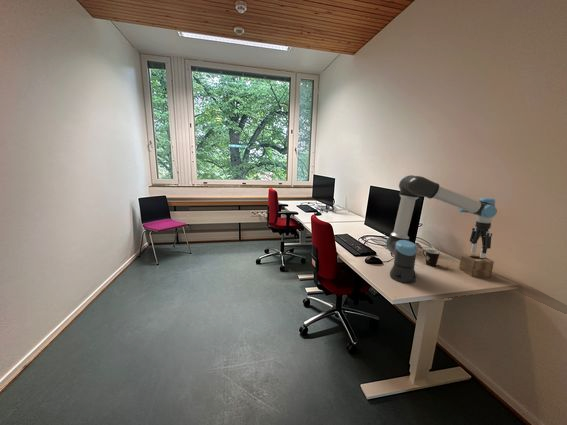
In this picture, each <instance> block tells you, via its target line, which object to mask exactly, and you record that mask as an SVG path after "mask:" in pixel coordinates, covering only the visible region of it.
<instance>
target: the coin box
mask: <svg viewBox="0 0 567 425" xmlns="http://www.w3.org/2000/svg"><path fill="white" fill-rule="evenodd" d="M494 263H495V261H494V260H492V259H490V258H487V257H486V256H485V258H480V253H479V254H477V253H461V254H460V259H459V266H458V269H459V270H461V271H462V272H464V273H465V274H467V275H468V276H470V277H475V278H476V277H477V278H478V277H479V278H491V277H492V272H493V269H494Z"/></svg>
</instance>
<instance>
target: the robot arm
mask: <svg viewBox="0 0 567 425" xmlns="http://www.w3.org/2000/svg"><path fill="white" fill-rule="evenodd" d="M398 183H399V184H398V187H399V197H400V201H399V205H398V210H397V215H396V218H395V224H394V228H393V231H392V232H391V233H390V235H389V237H388V238H387V239H386V241H385V244H386V245H385V246H386V248H387V249H388V251H389V252H390V253H391V254H392V255H393V256H394V259H393V260H394V261H393V265H392V267H391V269H390V272H389V277H390V278H391V279H392V280H394V281H397V282H399V283H404V284H413V283H416V281H417V274H416V270H415V265H416V264H415V263H416V257H417V251H418V250H417V249H418V247H417V244H415V243H414V242H412V241H410V236H408V233H409V228H410V225H411V221H412V217H413V213H414V208H415V205H416V200H418V199H419V198H420V197H422V198H423V197H424V198H427V199H430V200H431V199H434V200H436V201H437V200H438V201H440V202H443V203H445V204H448V205H450V206H452V207H455V208H457V210H458V212H459V213H465V214H466V213H469V214H471V215H476V221H475V226H474V227H472V230H471V233H470V234H471V235H470V238H469V242H471V248H470V249H471V250H470V254H477V247H478V241H479V239H480V238H481V245H482V247H480V253H479V254H480V258H485V257H486V254H487V250H488V249H491V246H492V237H493V233H491V232H490V231H489V230H490V229H491V227H492V220H493V218H494V217H495V216H496V215H497V213H498V208H497V207H496V199H495V198H491V197H480V198H479V200H477V199H474V198H472V197H469V196H466V195H463V194H461V193H458V192H456V191H453V190H450V189H448V188H445V187H442V186H440V184H439V183H438V182H434V181H432V180H430V179H428V178H426V177H424V176H420V175H414V174H413V175H412V174H411V175H406V176H404V177H402V178H401V179H400V180H399V182H398Z"/></svg>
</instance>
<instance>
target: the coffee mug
mask: <svg viewBox="0 0 567 425" xmlns="http://www.w3.org/2000/svg"><path fill="white" fill-rule="evenodd" d="M422 254H423V256H424V257H425V265H427V267H428V266H429V267H436V266H437V264H438V260H439V257H440V251H438V250H435V249H424V250H423V251H422Z"/></svg>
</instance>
